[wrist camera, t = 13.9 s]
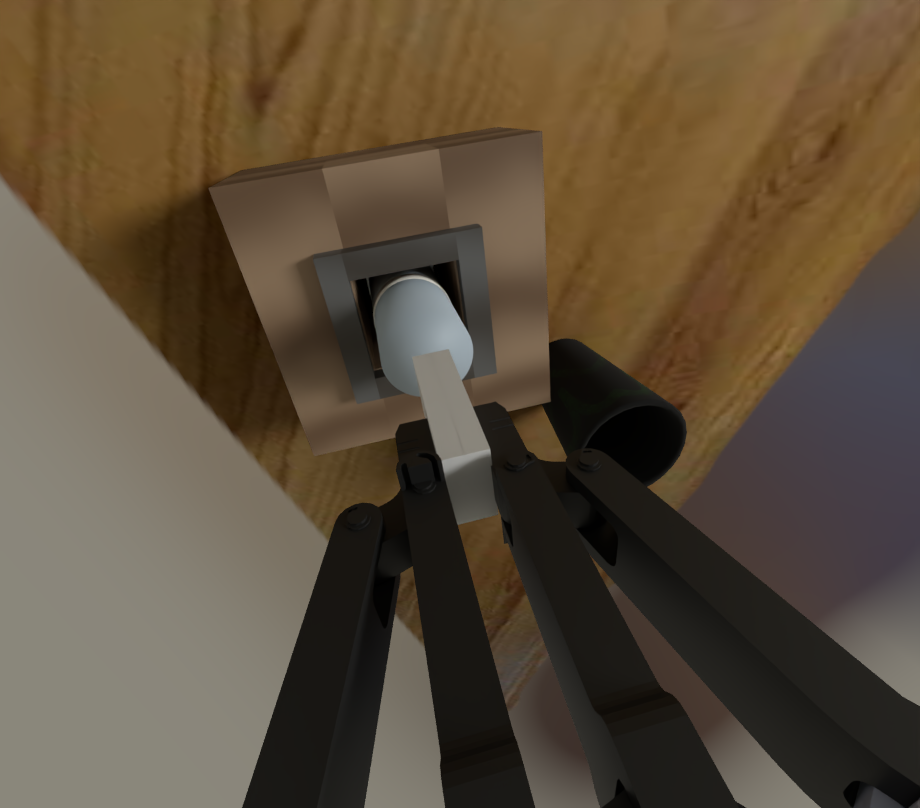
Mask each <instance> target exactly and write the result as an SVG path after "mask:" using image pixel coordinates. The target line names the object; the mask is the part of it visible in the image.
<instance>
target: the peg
mask: <svg viewBox="0 0 920 808" xmlns="http://www.w3.org/2000/svg"><path fill="white" fill-rule="evenodd" d="M369 286H370V293H371V300H372V306H373V319H374V325H375V329H376V333H377V340H378V346H379V353H380V360H381V366H382V369H383V372H384V374H385V376H386V377H387V379H388V380H389V382H390V383H391V384H392V385H393V386H395V387H396V388H397V389H399V390H400V391H402V392H404V393H406V394H409V395H413V396H418V397H420V392H419V388H418V383H417V378H416V374H415V369H414V364H413V360H412V357H414V356H419V355H423V354H428V353H433V352H437V351H442V350H447V349H449V351H450V354H451V356H452V359H453V361H454V363H455V366H456V368H457V371H458V373H459V375H460V378H461V380H462V379H463V378H464V377H465V375H466V374H467V372H468V371H469V369H470V366H471V363H472V359H473V344H472V340H471V337H470V335H469V333H468V331H467V330H466V328H465V326H464V324H463V323H462V321H461V319H460V317H459V316H458V314H457V312H456V310H455V309H454V307H453V305H452V303H451V300H450V298H449V297H448V295H447V293H446V291H445V290H444V289H443V287H442V286H441V284H440V283H439V281H438V279H437V278H436V276H435V274H434V272H433V271H432V269H431V267H430V266H425V267H420V268H415V269H409V270H404V271H399V272H394V273H389V274H384V275H379V276H374V277H369Z"/></svg>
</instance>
